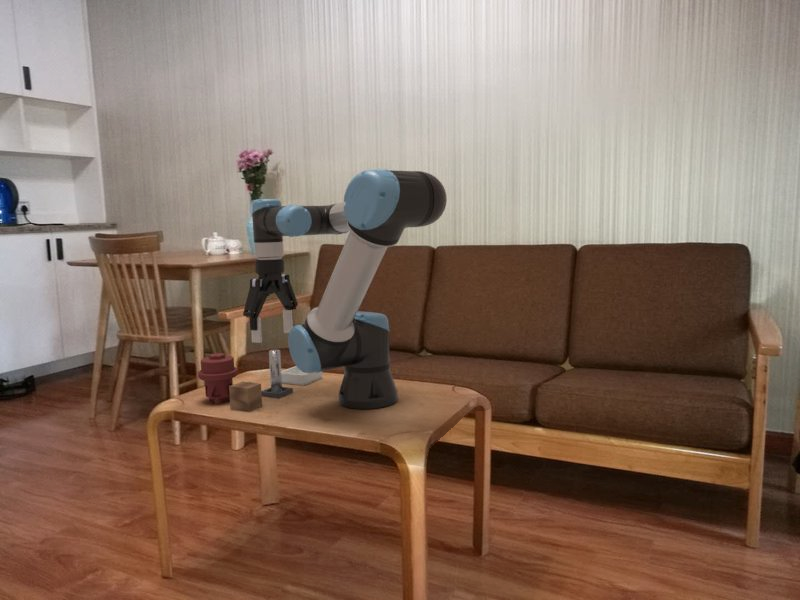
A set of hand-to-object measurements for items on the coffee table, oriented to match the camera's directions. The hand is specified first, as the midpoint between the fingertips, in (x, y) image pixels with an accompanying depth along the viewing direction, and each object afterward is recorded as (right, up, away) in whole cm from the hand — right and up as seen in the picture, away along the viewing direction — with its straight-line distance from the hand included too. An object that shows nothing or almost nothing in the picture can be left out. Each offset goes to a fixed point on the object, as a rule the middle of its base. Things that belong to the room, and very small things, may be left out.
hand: (273, 337), depth 168 cm
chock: (-5, -17, -10) cm, 20 cm away
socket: (+1, -15, +2) cm, 16 cm away
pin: (+1, -15, +2) cm, 16 cm away
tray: (+5, -14, +16) cm, 21 cm away
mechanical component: (-13, -17, -3) cm, 22 cm away
